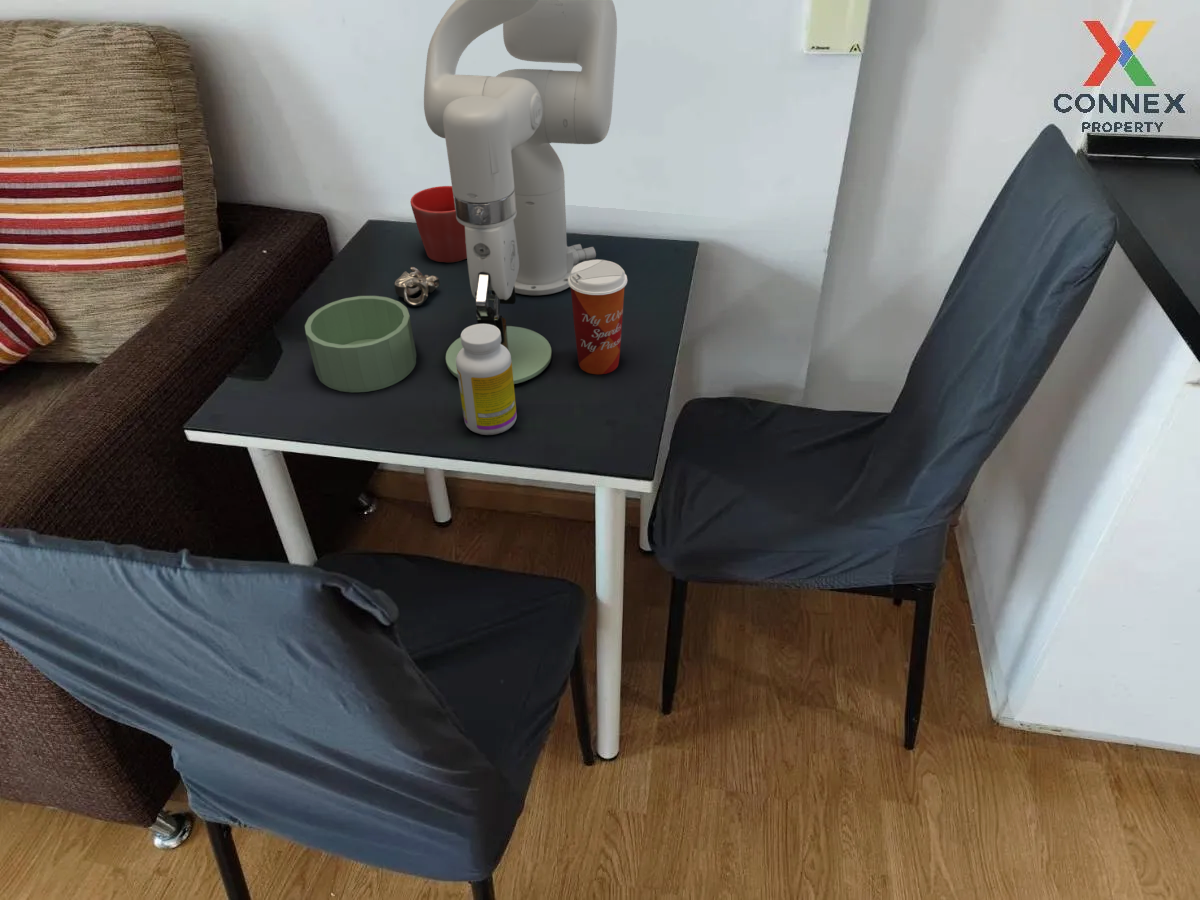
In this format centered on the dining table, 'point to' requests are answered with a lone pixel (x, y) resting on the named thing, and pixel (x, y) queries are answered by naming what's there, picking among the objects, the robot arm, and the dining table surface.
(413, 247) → the dining table surface
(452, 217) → the flower pot
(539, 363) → the pot lid
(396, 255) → the dining table surface
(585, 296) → the paper cup
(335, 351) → the pot
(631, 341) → the dining table surface
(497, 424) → the supplement bottle
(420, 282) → the ornament
